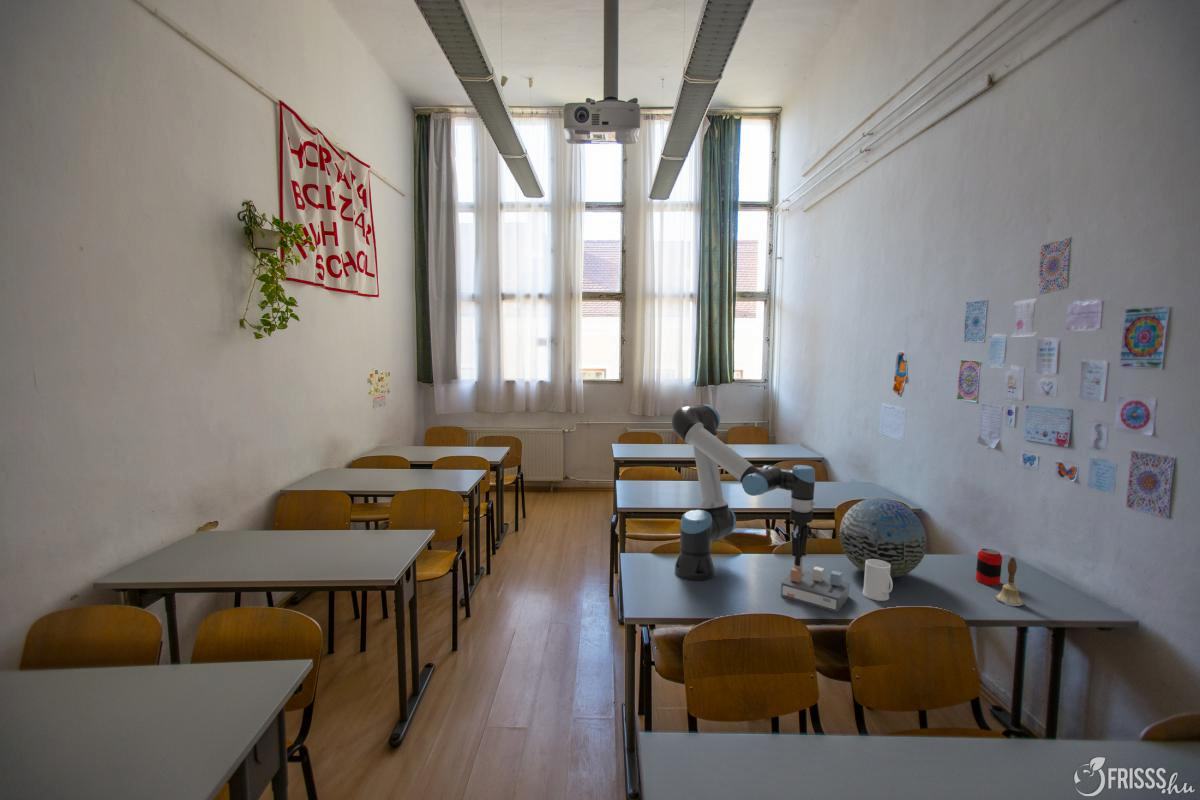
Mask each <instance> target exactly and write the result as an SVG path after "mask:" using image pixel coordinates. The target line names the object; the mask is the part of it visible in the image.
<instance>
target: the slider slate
mask: <svg viewBox="0 0 1200 800" xmlns="http://www.w3.org/2000/svg"><path fill="white" fill-rule="evenodd" d="M829 578H830V584H831V585H835V586H840V585H841V582H842V579H843V572H840V571H836V570H832V571H831V572H830V577H829Z"/></svg>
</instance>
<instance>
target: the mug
mask: <svg viewBox="0 0 1200 800" xmlns="http://www.w3.org/2000/svg"><path fill="white" fill-rule="evenodd" d="M890 569H891V565H890V564H889V563H888V562H886V561H883V560H878V559H868V560H866V561H865V572H864V578H863V590H862V595H864V596H865V597H866V598H868V599H870V600H874V601H879V602H882V601H883V602H885V601H888V600H889V599H890V593H891V592H892V591H893V587H894V586H893V585H894V583H893V578H891V576H890Z"/></svg>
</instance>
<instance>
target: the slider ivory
mask: <svg viewBox="0 0 1200 800" xmlns="http://www.w3.org/2000/svg"><path fill="white" fill-rule="evenodd" d="M812 574H813V579H812V580H815V581H819V582H822V580H823V579H824V577H825V568H824V567H820V566H814V567H813V569H812Z"/></svg>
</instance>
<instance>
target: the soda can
mask: <svg viewBox="0 0 1200 800" xmlns="http://www.w3.org/2000/svg"><path fill="white" fill-rule="evenodd" d="M976 558H977V560H976V570H975V571H976V572H975V580H976V581H977V582H978V583H980V582H981V583H980V584H982V583H983V585H985V584H987V585H986V586H990V585H997V586H999V585H1000V584H1001V575H1002V574H1001V573H1002V565H1003V564H1002V563H1003V556H1002V555H1001V553H1000V551H997V550H995V549H992V548H981V549H980V550H979V551H978V552H977V557H976Z"/></svg>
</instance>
